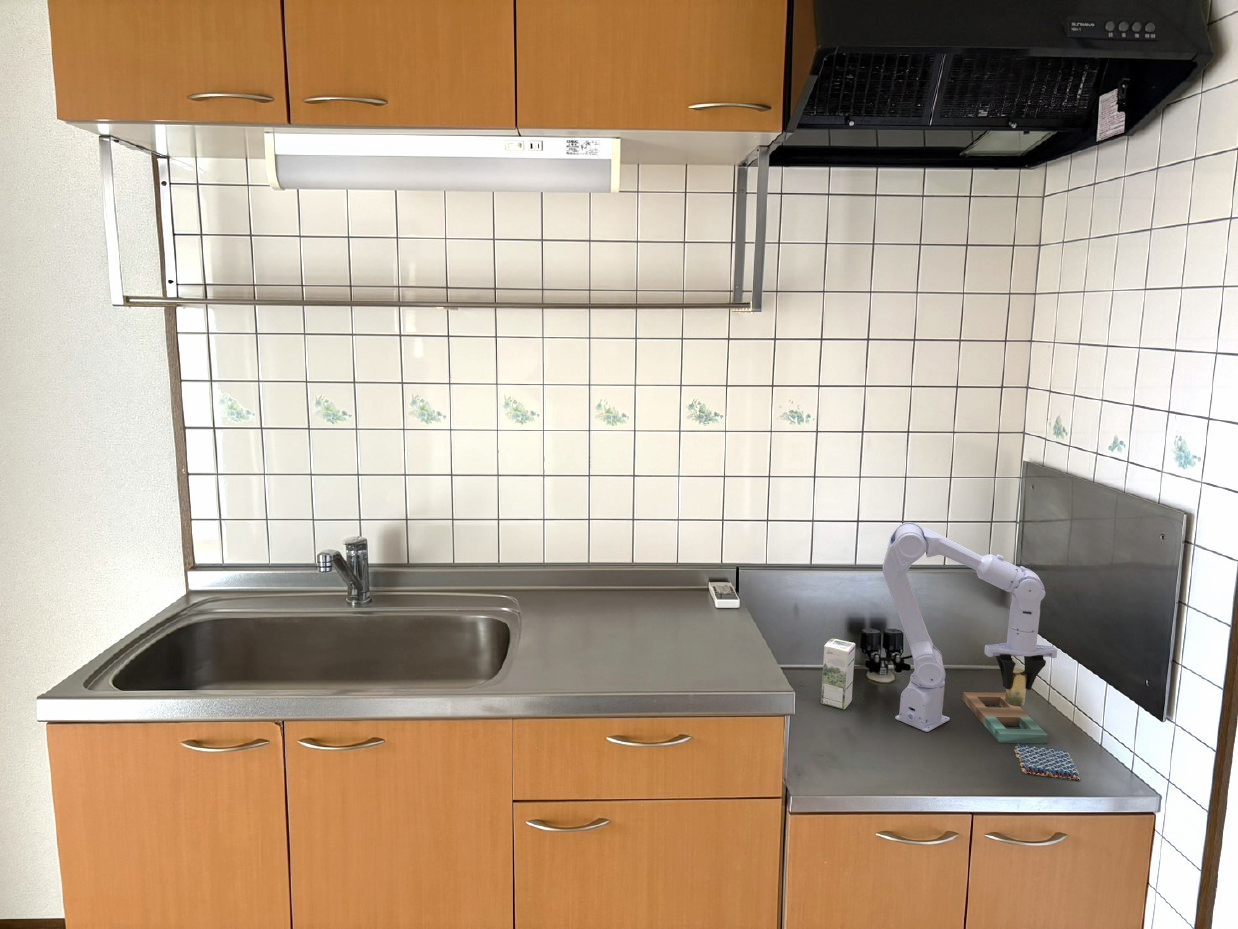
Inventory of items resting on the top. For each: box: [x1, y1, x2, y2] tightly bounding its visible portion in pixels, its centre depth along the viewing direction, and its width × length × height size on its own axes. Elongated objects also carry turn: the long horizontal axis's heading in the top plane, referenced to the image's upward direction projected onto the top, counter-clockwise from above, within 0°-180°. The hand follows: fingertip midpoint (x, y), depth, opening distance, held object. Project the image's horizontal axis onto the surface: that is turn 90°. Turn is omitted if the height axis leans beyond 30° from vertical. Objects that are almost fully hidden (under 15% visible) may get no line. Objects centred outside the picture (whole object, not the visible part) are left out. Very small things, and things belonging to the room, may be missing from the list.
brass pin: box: [1005, 667, 1028, 707], centre depth 183 cm, size 4×4×7 cm
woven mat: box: [1013, 743, 1081, 781], centre depth 171 cm, size 10×11×2 cm
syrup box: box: [820, 638, 856, 710], centre depth 195 cm, size 6×6×14 cm
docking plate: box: [961, 691, 1048, 744], centre depth 189 cm, size 20×10×2 cm, turn 0°
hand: (1016, 687), depth 182 cm, fingers closed on brass pin, 4 cm apart
